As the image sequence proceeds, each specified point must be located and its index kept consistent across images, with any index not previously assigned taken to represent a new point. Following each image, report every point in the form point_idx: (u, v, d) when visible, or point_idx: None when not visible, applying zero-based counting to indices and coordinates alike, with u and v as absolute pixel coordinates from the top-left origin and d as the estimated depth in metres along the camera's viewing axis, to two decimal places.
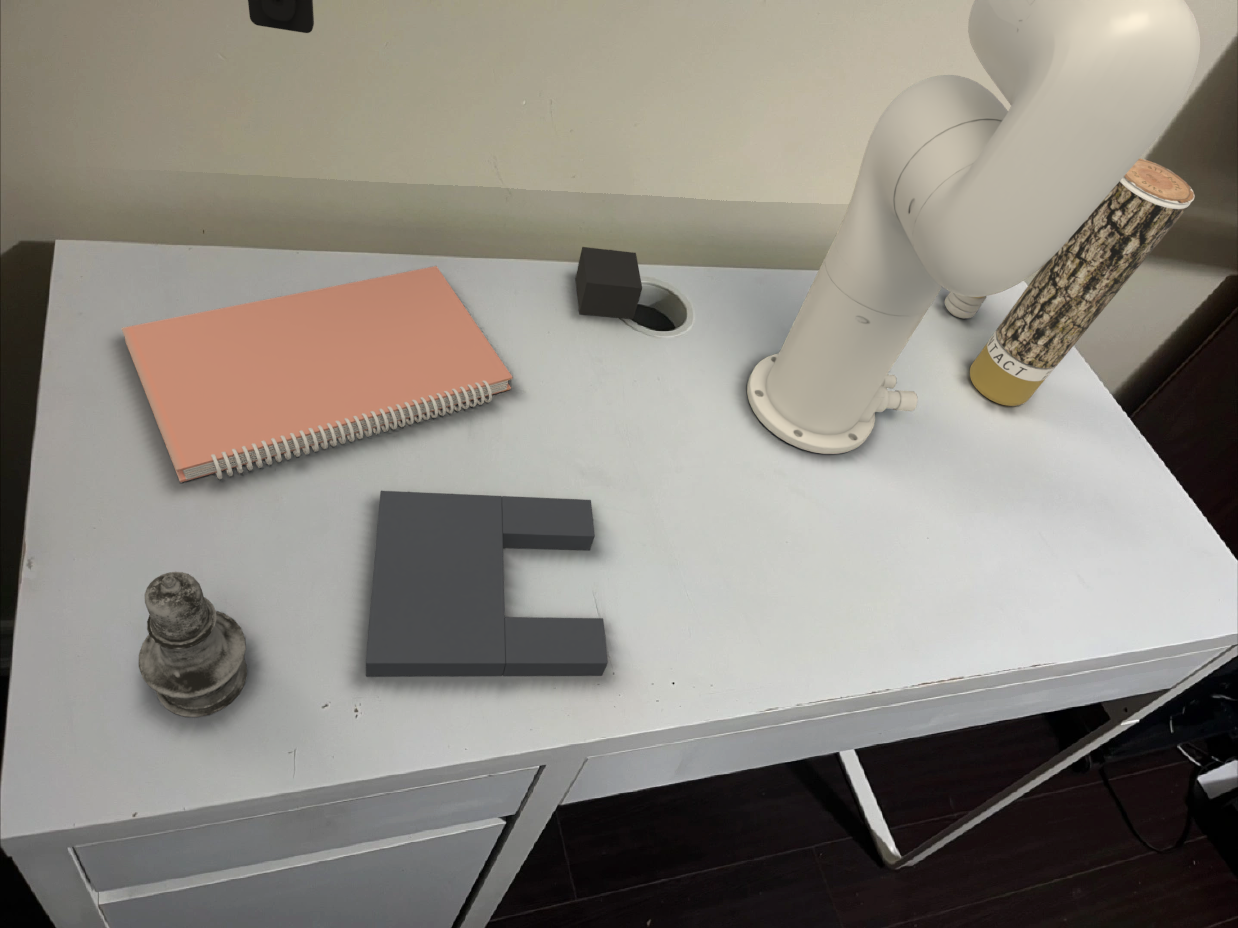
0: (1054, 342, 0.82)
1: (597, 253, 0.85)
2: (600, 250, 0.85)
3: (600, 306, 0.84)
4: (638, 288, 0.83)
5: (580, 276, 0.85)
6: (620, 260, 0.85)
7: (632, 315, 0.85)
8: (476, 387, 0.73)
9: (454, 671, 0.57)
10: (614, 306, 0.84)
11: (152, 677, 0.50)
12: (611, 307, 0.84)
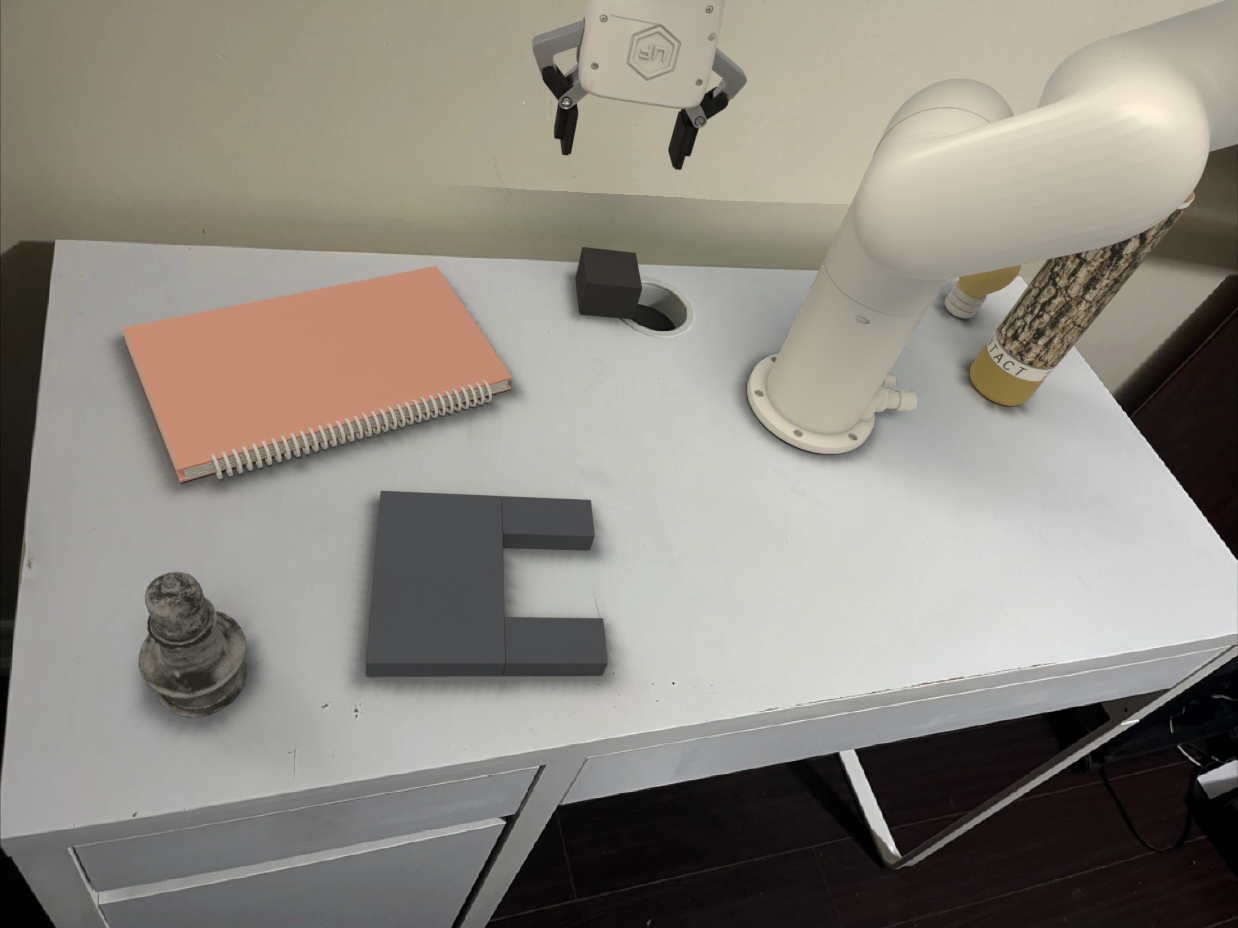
0: (1054, 342, 0.82)
1: (597, 253, 0.85)
2: (600, 250, 0.85)
3: (600, 306, 0.84)
4: (638, 288, 0.83)
5: (580, 276, 0.85)
6: (620, 260, 0.85)
7: (632, 315, 0.85)
8: (476, 387, 0.73)
9: (454, 671, 0.57)
10: (614, 306, 0.84)
11: (152, 677, 0.50)
12: (611, 307, 0.84)
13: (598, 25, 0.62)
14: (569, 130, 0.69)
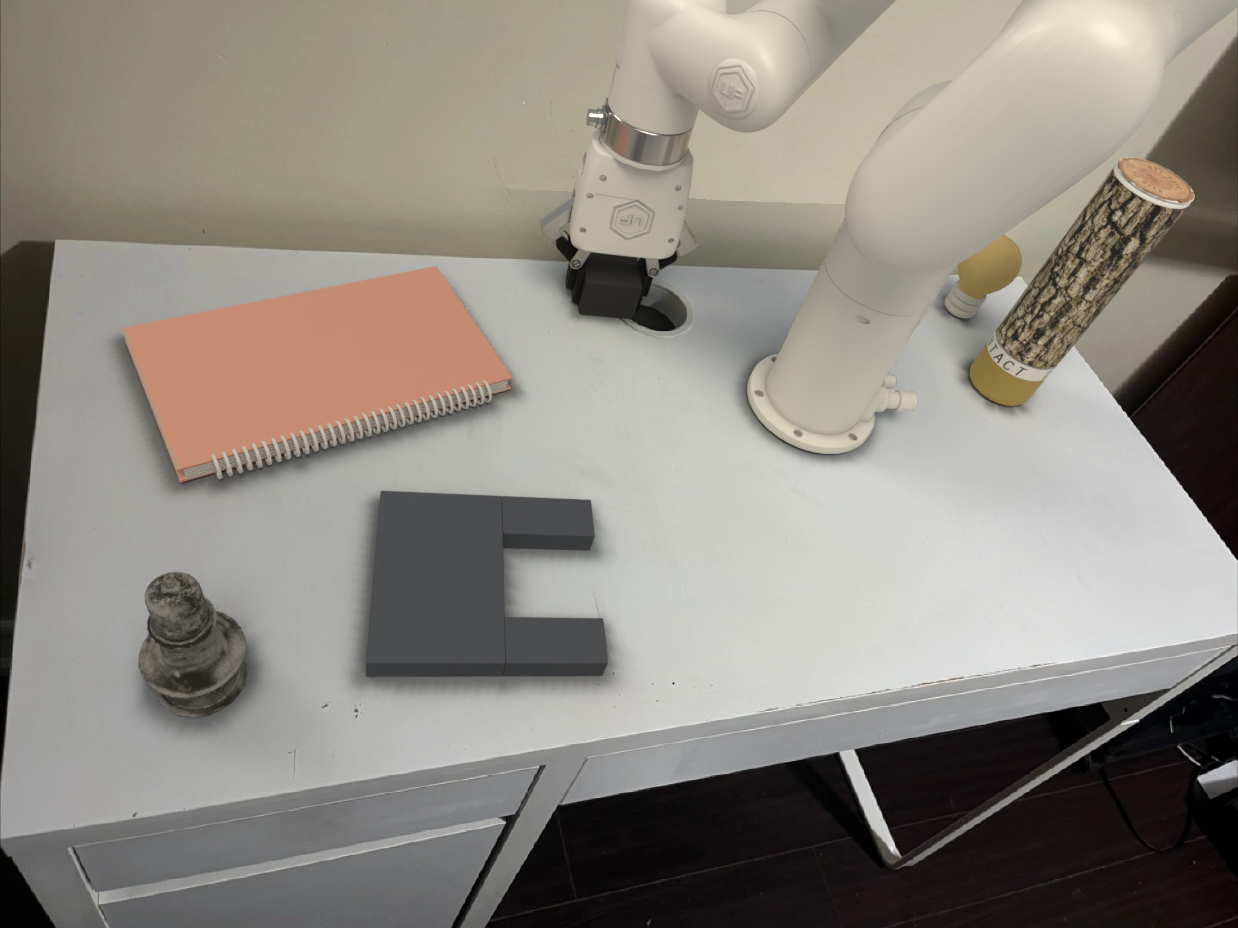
0: (1054, 342, 0.82)
1: (597, 253, 0.85)
2: None
3: (600, 306, 0.84)
4: (638, 288, 0.83)
5: None
6: (620, 260, 0.85)
7: (632, 315, 0.85)
8: (476, 387, 0.73)
9: (454, 671, 0.57)
10: (614, 306, 0.84)
11: (152, 677, 0.50)
12: (611, 307, 0.84)
13: (585, 200, 0.75)
14: (578, 284, 0.83)
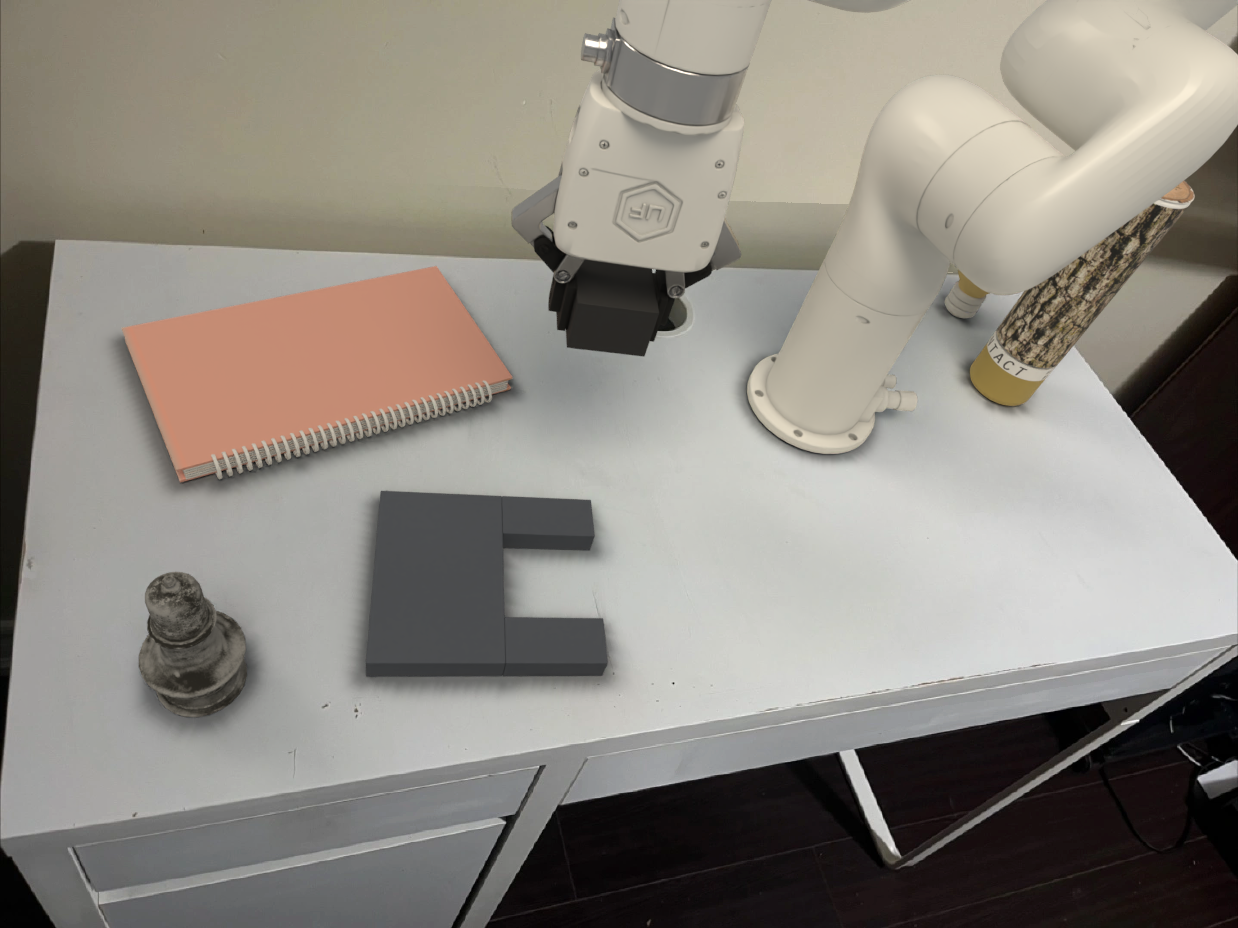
0: (1054, 342, 0.82)
1: (596, 261, 0.59)
2: None
3: (597, 337, 0.58)
4: (653, 314, 0.57)
5: None
6: (628, 272, 0.59)
7: (643, 351, 0.59)
8: (476, 387, 0.73)
9: (454, 671, 0.57)
10: (618, 338, 0.58)
11: (152, 677, 0.50)
12: (613, 339, 0.58)
13: (577, 180, 0.49)
14: (566, 306, 0.57)
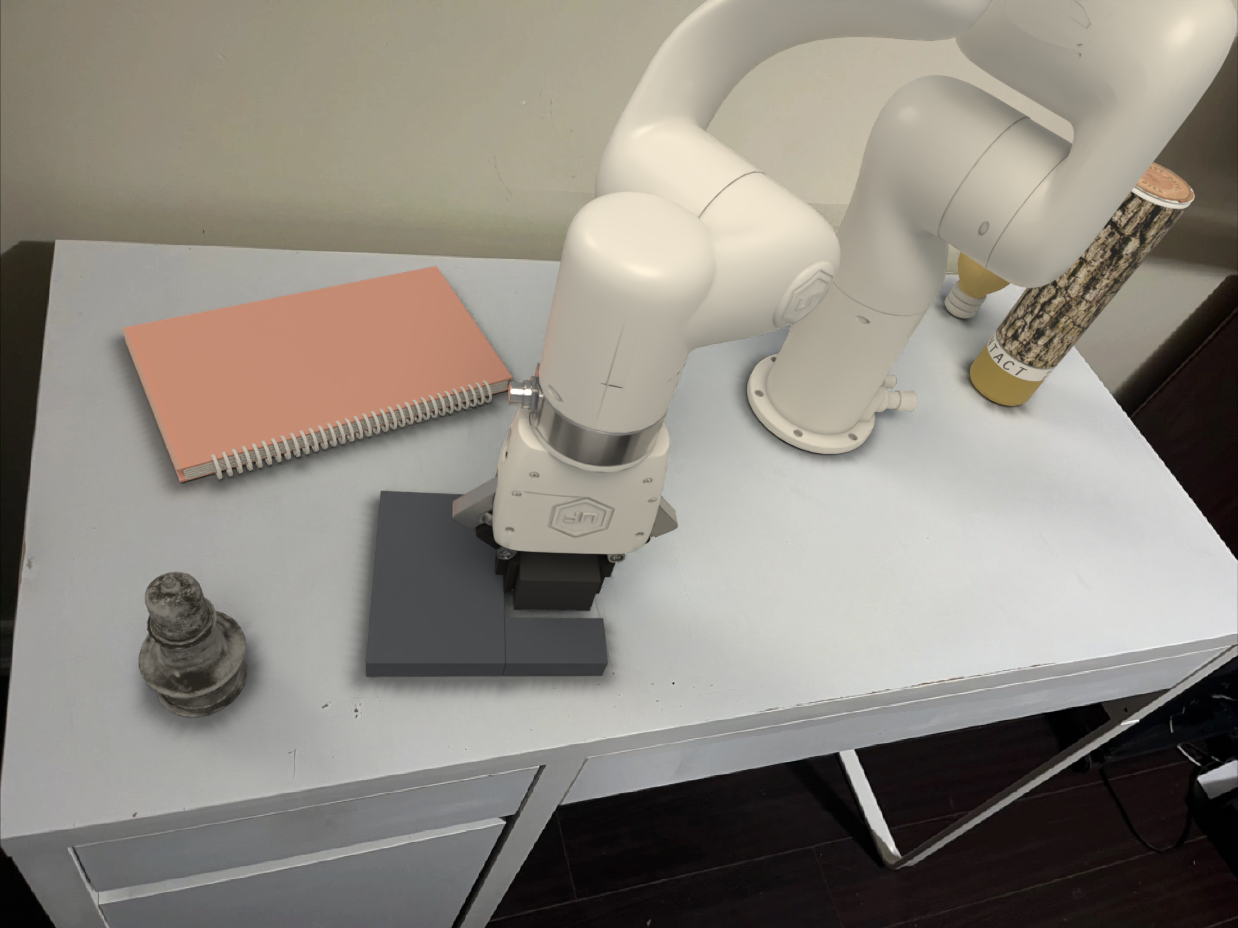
0: (1054, 342, 0.82)
1: None
2: None
3: (542, 601, 0.60)
4: (594, 582, 0.59)
5: None
6: None
7: (588, 607, 0.61)
8: (476, 387, 0.73)
9: (454, 671, 0.57)
10: (562, 600, 0.60)
11: (152, 677, 0.50)
12: (558, 601, 0.60)
13: (510, 499, 0.51)
14: (510, 576, 0.59)
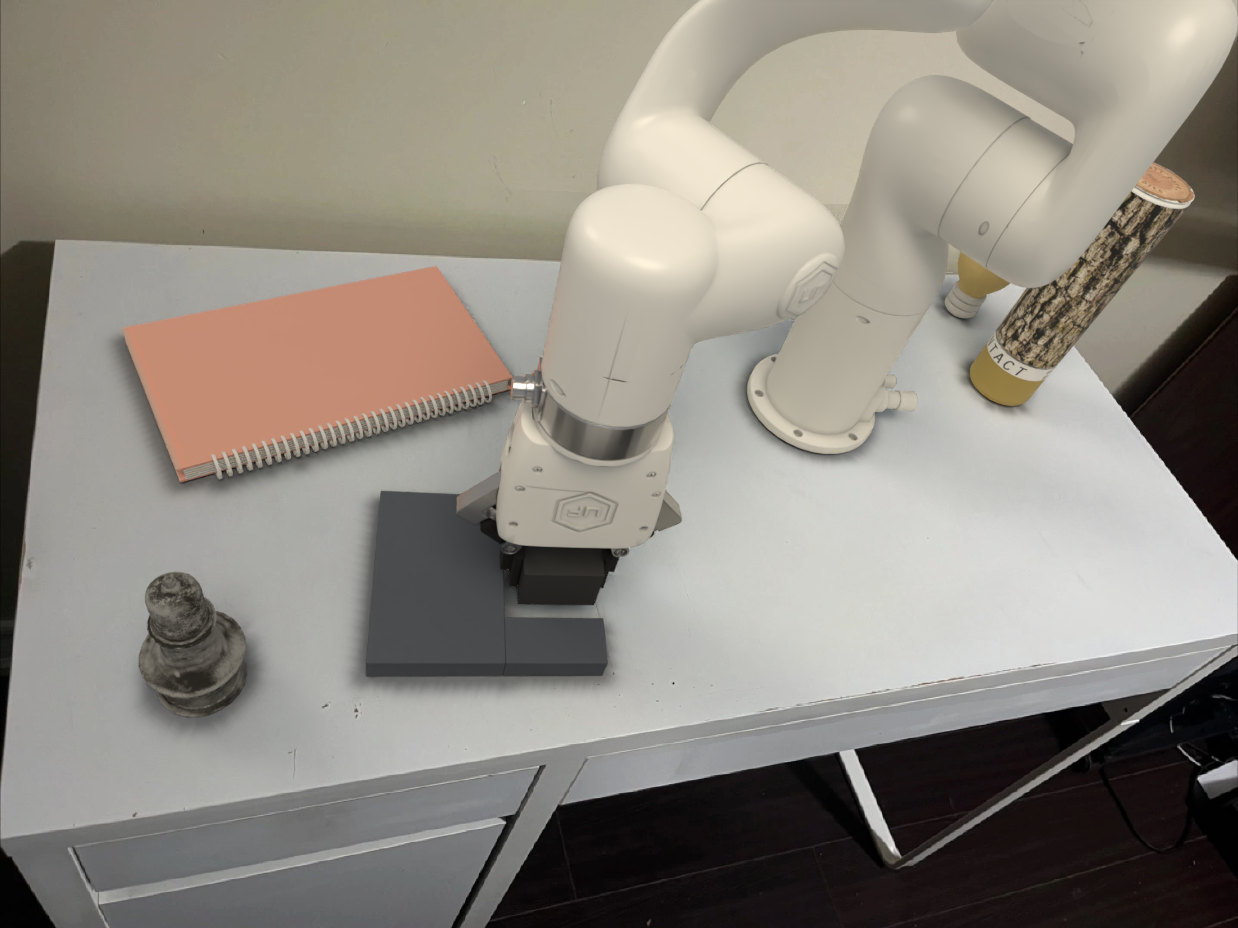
0: (1054, 342, 0.82)
1: None
2: None
3: (546, 596, 0.60)
4: (598, 577, 0.59)
5: None
6: None
7: (592, 602, 0.61)
8: (476, 387, 0.73)
9: (454, 671, 0.57)
10: (567, 595, 0.60)
11: (152, 677, 0.50)
12: (562, 596, 0.60)
13: (514, 494, 0.51)
14: (515, 570, 0.59)
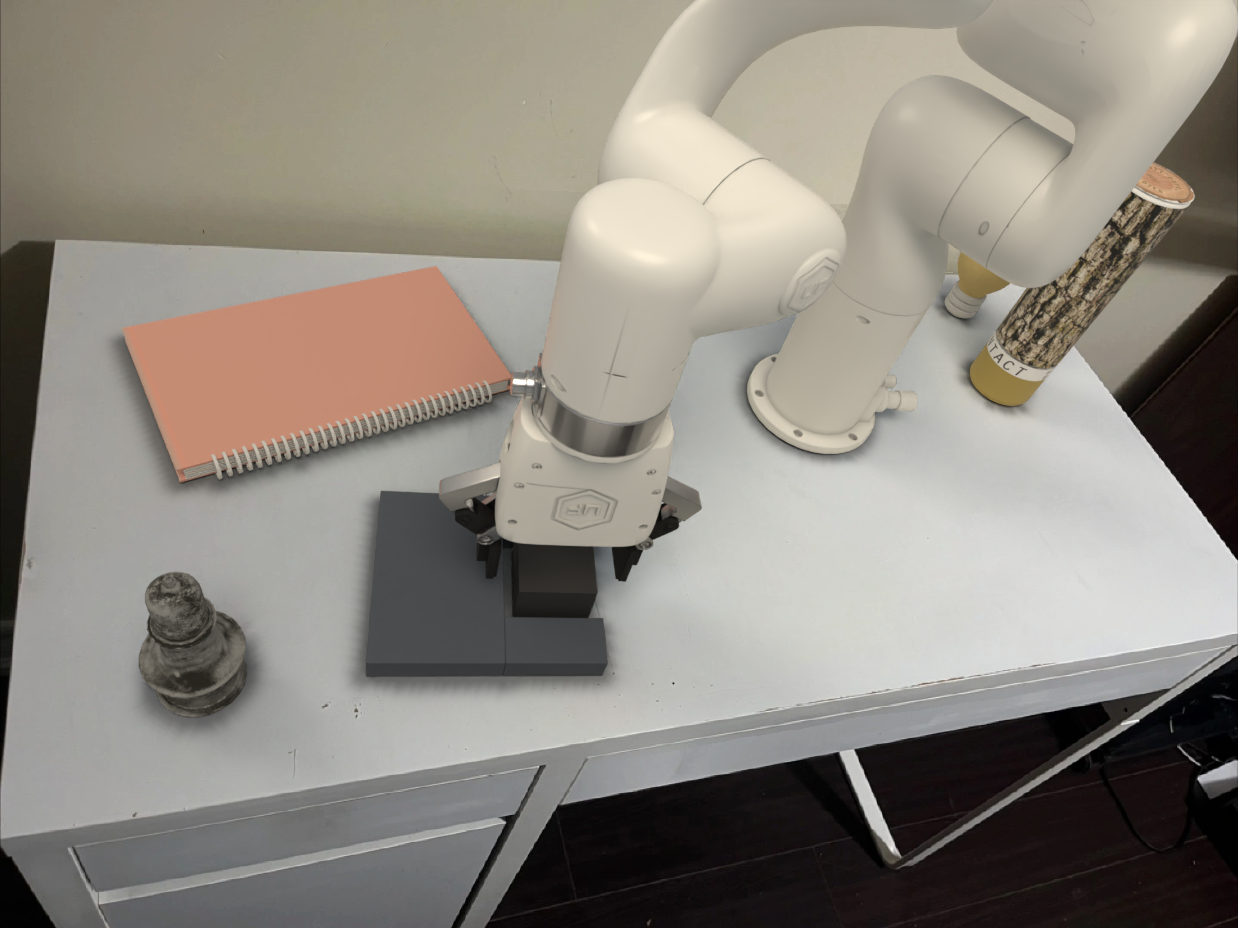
0: (1054, 342, 0.82)
1: None
2: None
3: (540, 612, 0.61)
4: (591, 594, 0.60)
5: (514, 566, 0.62)
6: None
7: None
8: (476, 387, 0.73)
9: (454, 671, 0.57)
10: (560, 611, 0.61)
11: (152, 677, 0.50)
12: (556, 612, 0.61)
13: (513, 491, 0.50)
14: (491, 562, 0.57)
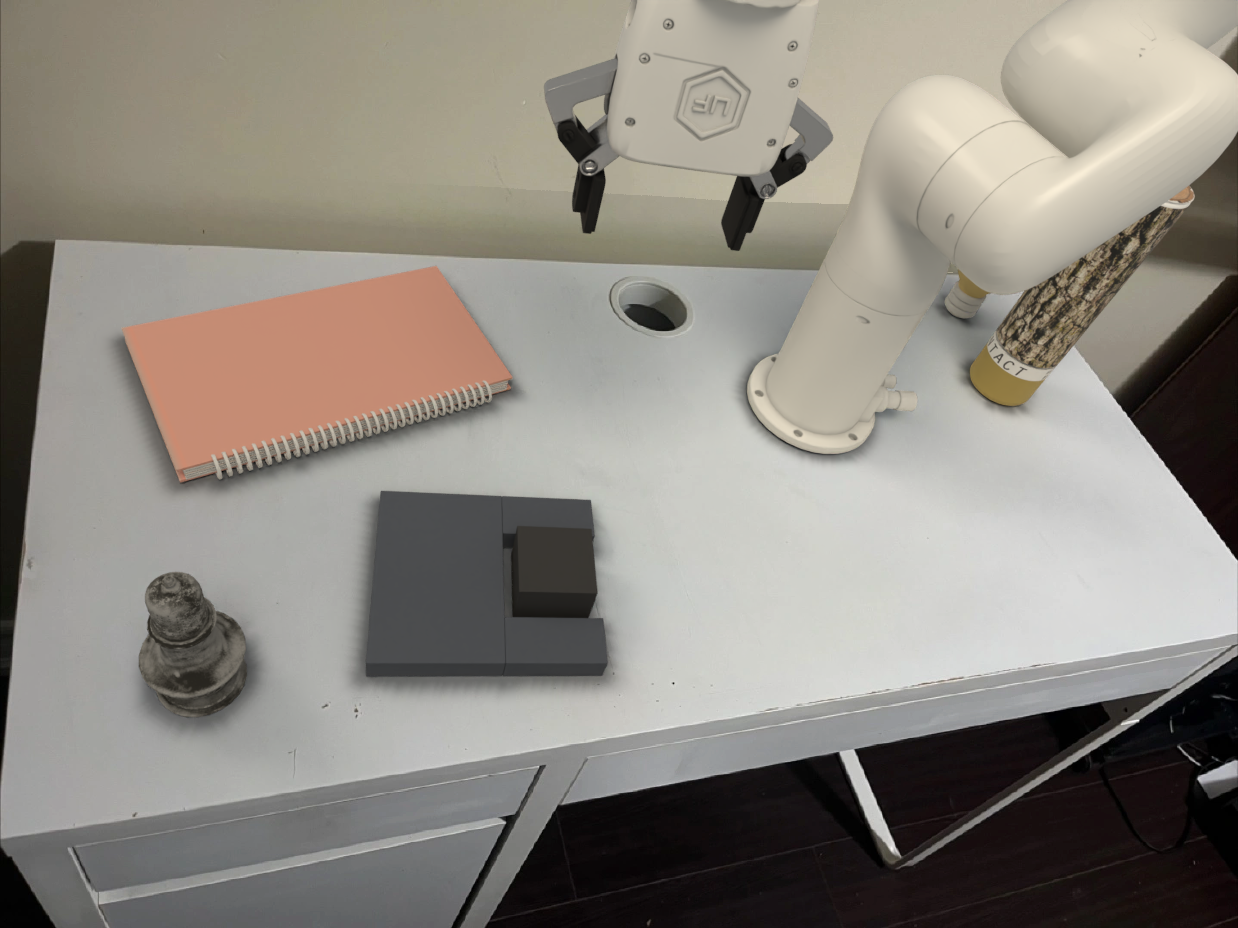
0: (1054, 342, 0.82)
1: (538, 536, 0.62)
2: (542, 530, 0.62)
3: (540, 612, 0.61)
4: (591, 594, 0.60)
5: (514, 566, 0.62)
6: (568, 545, 0.62)
7: None
8: (476, 387, 0.73)
9: (454, 671, 0.57)
10: (560, 611, 0.61)
11: (152, 677, 0.50)
12: (556, 612, 0.61)
13: (637, 67, 0.45)
14: (593, 203, 0.52)
